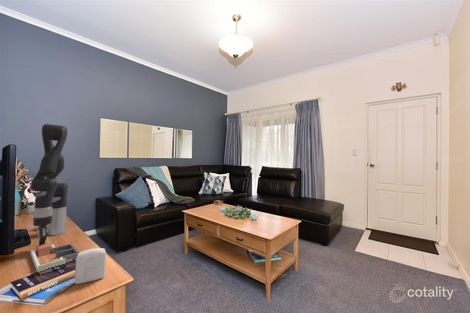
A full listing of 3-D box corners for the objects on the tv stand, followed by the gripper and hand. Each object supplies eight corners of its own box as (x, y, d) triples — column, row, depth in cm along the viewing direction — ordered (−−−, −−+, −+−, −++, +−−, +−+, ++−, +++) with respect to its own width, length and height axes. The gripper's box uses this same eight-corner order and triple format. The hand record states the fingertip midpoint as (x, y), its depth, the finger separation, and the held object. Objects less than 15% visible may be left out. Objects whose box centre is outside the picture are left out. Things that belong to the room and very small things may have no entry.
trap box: (30, 254, 107) (30, 246, 107) (69, 245, 119) (69, 238, 119) (38, 275, 87) (38, 266, 87) (83, 262, 99) (84, 253, 99)
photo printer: (105, 273, 90) (106, 245, 90) (105, 278, 86) (106, 248, 87) (75, 280, 84) (76, 250, 84) (74, 286, 80) (75, 254, 81)
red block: (36, 253, 108) (36, 245, 108) (47, 250, 112) (47, 243, 112) (38, 257, 104) (38, 249, 104) (50, 254, 108) (50, 246, 108)
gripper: (54, 216, 110) (53, 249, 110) (50, 212, 119) (49, 242, 118) (35, 219, 105) (33, 253, 104) (32, 214, 113) (30, 246, 113)
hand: (41, 247), depth 111 cm, fingers closed
